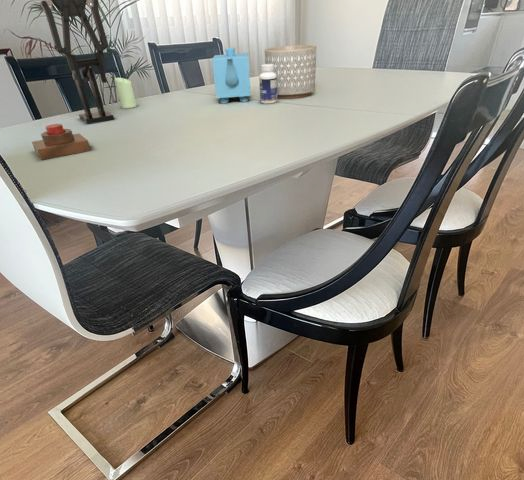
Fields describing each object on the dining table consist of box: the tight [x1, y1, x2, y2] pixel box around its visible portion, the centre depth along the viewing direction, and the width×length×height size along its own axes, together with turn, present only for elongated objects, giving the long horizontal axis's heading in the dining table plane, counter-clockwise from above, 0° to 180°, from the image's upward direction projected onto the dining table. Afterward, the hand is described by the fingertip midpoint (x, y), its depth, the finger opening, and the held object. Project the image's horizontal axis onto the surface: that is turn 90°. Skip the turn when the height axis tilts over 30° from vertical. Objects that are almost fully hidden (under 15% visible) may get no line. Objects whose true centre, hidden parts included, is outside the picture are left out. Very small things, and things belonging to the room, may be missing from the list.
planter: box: [264, 44, 317, 100], centre depth 126 cm, size 16×16×13 cm
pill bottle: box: [258, 63, 278, 105], centre depth 120 cm, size 5×5×10 cm
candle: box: [114, 77, 137, 109], centre depth 128 cm, size 5×5×8 cm
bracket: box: [71, 66, 115, 125], centre depth 113 cm, size 10×8×13 cm
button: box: [45, 123, 65, 135], centre depth 88 cm, size 4×4×2 cm
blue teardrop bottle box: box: [211, 47, 252, 104], centre depth 124 cm, size 22×11×14 cm, turn 2°
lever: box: [76, 57, 99, 83], centre depth 106 cm, size 12×6×2 cm, turn 32°
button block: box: [31, 128, 92, 161], centre depth 90 cm, size 11×9×4 cm
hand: (93, 83), depth 105 cm, fingers closed on lever, 5 cm apart
